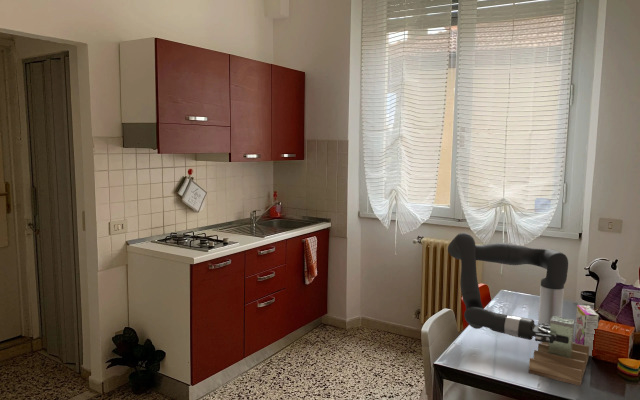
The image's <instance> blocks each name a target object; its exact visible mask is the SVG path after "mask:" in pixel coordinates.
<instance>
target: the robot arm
mask: <svg viewBox="0 0 640 400" xmlns="http://www.w3.org/2000/svg"><path fill="white" fill-rule="evenodd" d="M447 252H448V254H449V255H450V256H451V257H452V258H453V259H456V260H460V264H461V265H460V266H461V268H460V270H461V271H460V280H459V282H460V290H461V291H460V292H461V297H462V301H463V303H464V305H465V311H464V314H463V316H464V320H465V321H466V323H467V324H468V325H469V326H470V327H471V328H473V329H475V330H479V329H482V328H483V327H484V328H487V329H489V330H491V331H493V332H496V333H500V334H505V335H508V336H510V337H511V336H512V337H515V338H519V339H524V340H527V341H532V340H533V338H534V341H535V342H539V343H540V342H541V343H542V342H547V343H553V342H556V341H557V342H562V343H566V344H568V342H569V338H568V337H565V336H560V335H556V334H552V333H550V320H551V318H552V317H553V316H555V317H561V318H563V305H564V291H565V290H564V289H565V284H566V282H567V278H568V271H569V270H568V269H569V259H568V257H567V256H566V254H564V253H563V252H560V251H558V250H556V249H552V248H534V247H533V248H531V247H527V246H523V245H520V244H513V243H508V242H492V243H486V244H476V242H475V239H474V237H473V236H472V235H471V234H470V233H467V232H460V233H458V234H457V235H456V236H454V238H453V239H452V240H451V241H450V242H449V244H448V246H447ZM477 261H482V262H487V263H494V264H495V263H496V264H499V265H500V264H501V265H507V266H508V265H509V266H521V265H530V266H536V267H540V268H542V269H545V270H546V275H545V277H543V278H541V280H540V286H539V287H540V289H539V290H540V291H539V304H538V305H539V306H538V307H539V308H538V319H537V323H538V324H535V320H534V319H532V318H527V317H522V316H517V315H508V314H502V313H498V312H493V311H491V310H488V309H485V308H484V307H483V303H482V298H481V292H480V287H479V282H478V276H477V275H478V273H477V263H476V262H477ZM546 337H547V338H546Z"/></svg>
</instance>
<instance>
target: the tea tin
mask: <svg viewBox="0 0 640 400" xmlns="http://www.w3.org/2000/svg"><path fill="white" fill-rule="evenodd" d="M575 324H576V319H571V318H566V317H562V318H561V317H555V316H553V317H552V318H551V320H550V333H552V334H556V335H560V336H565V337H568V338H569V342H568V344H566V343H562V342H557V341H556V342H553V343H549V349H548V353H549V354H554V355H558V356H562V357H567V358H571V357H572V345H573V343H574V341H573V340H574V334H575V330H574V329H575Z"/></svg>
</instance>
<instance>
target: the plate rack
mask: <svg viewBox="0 0 640 400" xmlns="http://www.w3.org/2000/svg"><path fill="white" fill-rule="evenodd" d="M546 338H547V337H546ZM548 349H549V343H547V342H541V343H540V342H538V345H537V350H533V358H532V357H529V362H528V363H529V365H528V373H529V374H532V375H536V376H539V377H544V378H548V379H552V380H555V381H560V382H563V383H567V384H571V385H576V386H579V387H580V386H581V385H582V381H583V378H584V375H585V371H586V368H587V364H588V361H589V357H590V356H589V346H586V345H581V344H576V343H574V342H573V345H572V357H571V358H567V357H562V356H558V355H554V354H549V353H548Z"/></svg>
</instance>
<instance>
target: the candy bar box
mask: <svg viewBox="0 0 640 400" xmlns="http://www.w3.org/2000/svg"><path fill="white" fill-rule="evenodd" d="M575 315H576V316H575V326H574V329H575V330H574V341H573V343H576V344H581V345H586V346H589V357H593V356H592V350H593V340H594V334H595V330H594V329H597V328H598V329H599V323H600V322H599V321H600V315H599V314H598V312H596V311H595V309H593V307H591V306H590V305H585V304H584V305H583V304H576V313H575Z"/></svg>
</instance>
